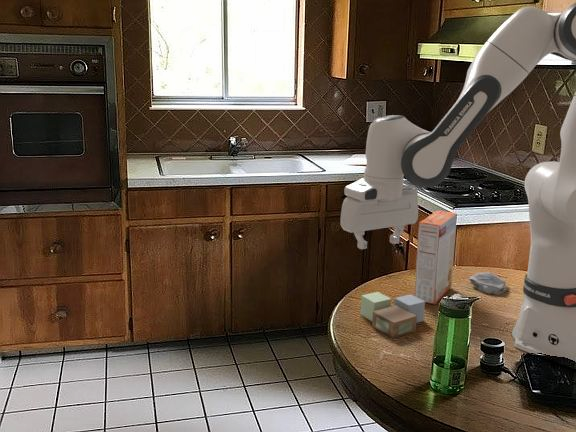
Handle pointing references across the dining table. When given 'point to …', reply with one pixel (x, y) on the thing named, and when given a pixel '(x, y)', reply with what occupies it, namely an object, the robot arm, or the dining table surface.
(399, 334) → the walnut slab
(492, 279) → the fossil
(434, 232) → the cracker box
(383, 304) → the sage green block
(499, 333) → the dining table surface
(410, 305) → the slate blue block
